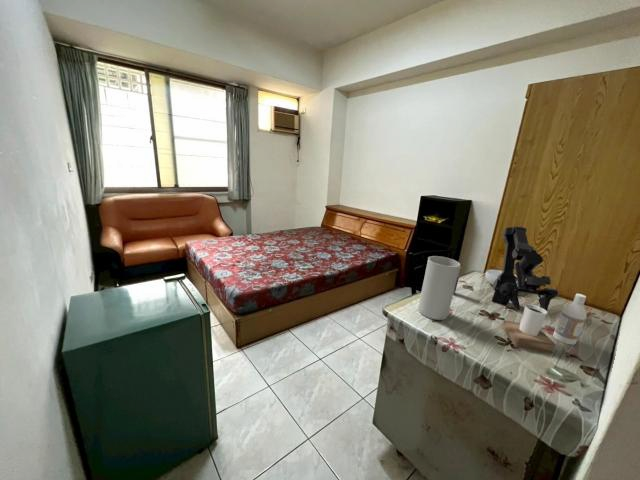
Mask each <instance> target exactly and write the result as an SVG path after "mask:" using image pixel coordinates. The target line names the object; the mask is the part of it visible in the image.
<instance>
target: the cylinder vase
mask: <svg viewBox="0 0 640 480" xmlns="http://www.w3.org/2000/svg"><path fill="white" fill-rule="evenodd" d="M460 267H461V263H460V262H459V261H457V260H455V259H453V258H449V257H445V256H438V255H432V256H428V257H427V264H426V268H425V272H424V273H425V274H424V277H423V278H424V279H423V283H422V287H421V293H420V297H419V303H418V308H417V309H418V311H419V312H420V313H421V314H422V315H423V316H425V317H426V318H428V319H432V320H435V321H436V320H437V321H443V320H446V319H448V316H449V313H450V309H451V305H452V301H453V296H454V295H453V293H454V288H455V284H456V280H457V276H458V272H459V268H460Z"/></svg>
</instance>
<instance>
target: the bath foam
mask: <svg viewBox="0 0 640 480" xmlns="http://www.w3.org/2000/svg"><path fill="white" fill-rule="evenodd" d="M586 300H587V296H586V295H584V294H581V293H576V294H575V296H574V298H573V301H572V302H569V303H568V304H566V305H565V306H564V307H563V308H562V310H561V313H560V315H559V317H558V320H557V323H556V326H555V329H554V331H553V334H552V335H553V337H554V338H555V339H556V340H557V341H558V342H561V343H563V344H567V345H569V346H570V345H571V346H572V345H573V346H574V345H576V343H577V341H578V339H579V336H580V335H581V332H582V330H583V327H584V325H585V322H586V320H587V311H586V309H585V306H584V304H585V302H586Z"/></svg>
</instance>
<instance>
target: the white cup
mask: <svg viewBox="0 0 640 480" xmlns="http://www.w3.org/2000/svg"><path fill="white" fill-rule="evenodd" d="M547 314H548V310H547V311H546V310H545V309H543V308H541V306H539V305H534V304H530V303H529V304H525V305H524V308H523V312H522V316H521V321H520V322H519V323H520V327H519V329H520V330H521V331H522V332H523V333H525V334H528V335H531V336H537V335H538V333H539V330H541V328H542V326H543V324H544V321H545V318H546V316H547Z"/></svg>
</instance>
